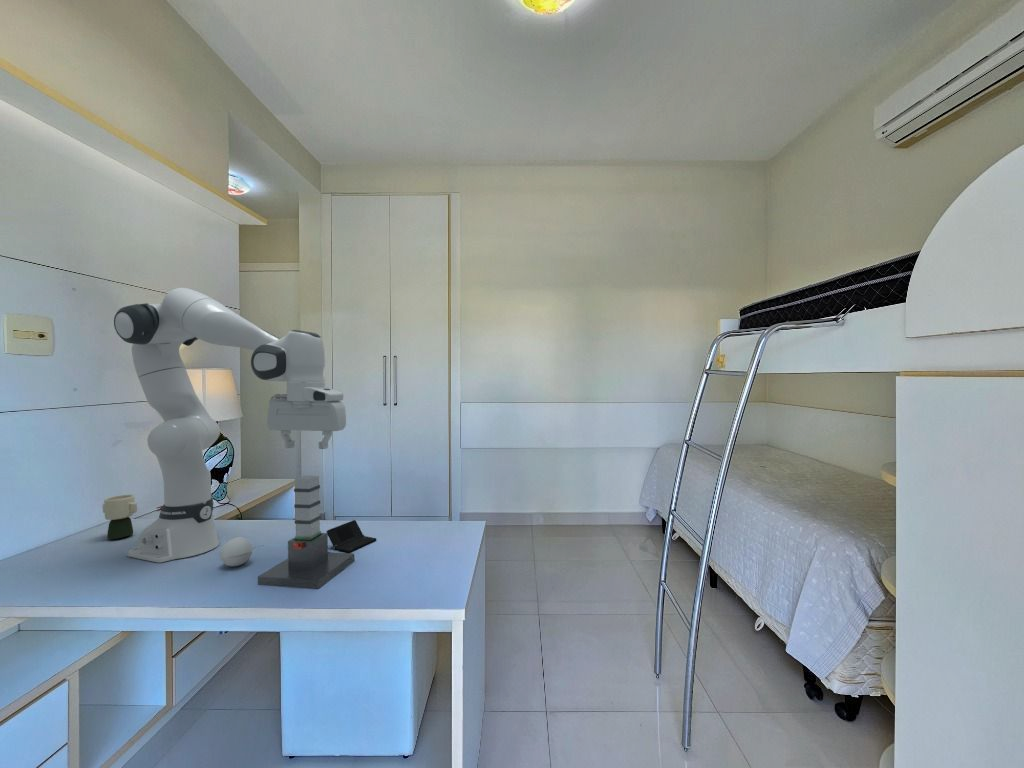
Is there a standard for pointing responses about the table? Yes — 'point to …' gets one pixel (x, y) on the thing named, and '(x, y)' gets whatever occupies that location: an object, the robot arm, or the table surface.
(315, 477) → the column
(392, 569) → the table surface
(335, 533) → the handheld gaming console
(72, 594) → the table surface
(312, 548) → the stand base
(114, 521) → the character mug
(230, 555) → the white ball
